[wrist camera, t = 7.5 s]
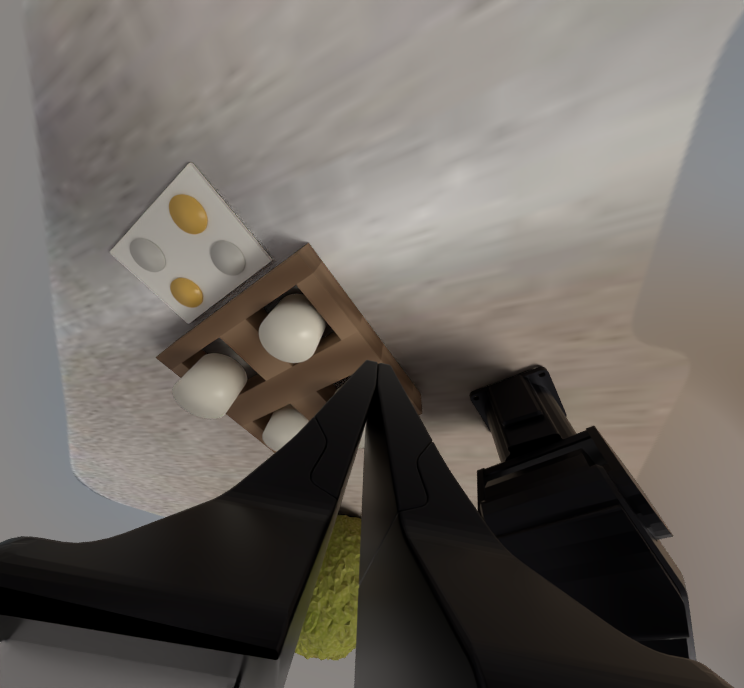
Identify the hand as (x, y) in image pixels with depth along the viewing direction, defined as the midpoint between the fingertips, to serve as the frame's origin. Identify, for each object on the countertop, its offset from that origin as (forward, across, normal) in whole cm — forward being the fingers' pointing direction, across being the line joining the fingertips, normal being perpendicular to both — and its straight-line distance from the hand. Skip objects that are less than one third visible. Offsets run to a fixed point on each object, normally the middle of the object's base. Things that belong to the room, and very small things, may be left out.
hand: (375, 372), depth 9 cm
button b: (+12, +6, +17) cm, 21 cm away
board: (+12, +6, +11) cm, 17 cm away
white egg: (+12, +6, +6) cm, 14 cm away
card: (+12, +14, +3) cm, 19 cm away
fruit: (+12, -1, +40) cm, 41 cm away
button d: (+9, +11, +11) cm, 19 cm away
